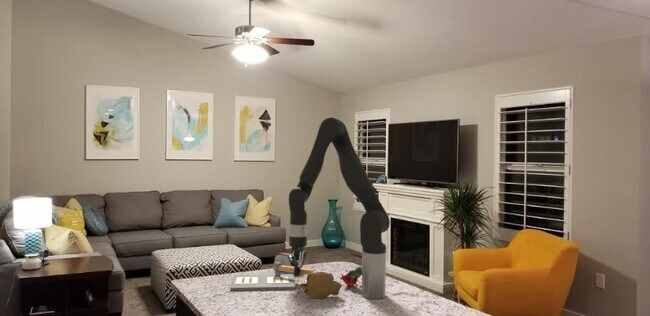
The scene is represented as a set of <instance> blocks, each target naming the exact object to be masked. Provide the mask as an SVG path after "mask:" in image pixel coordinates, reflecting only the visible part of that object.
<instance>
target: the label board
mask: <svg viewBox="0 0 650 316" xmlns="http://www.w3.org/2000/svg"><path fill="white" fill-rule="evenodd" d="M296 289H297V288H296V281H295V276H294V273H285V274H284V273H281V271H276V270H274V274H271V273H270V274H269V273H268V274H264V273H263V274H234V275H233V278H232V281H231V285H230V291H231V292H232V290H246V291H291V290H292V291H293V290H296Z"/></svg>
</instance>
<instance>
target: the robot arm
mask: <svg viewBox="0 0 650 316" xmlns="http://www.w3.org/2000/svg"><path fill="white" fill-rule="evenodd" d="M331 144H332V145H333V147H334V149H335V150H336V153H337V157H338V162H339V170H340V173H341V175H342V178H343V179H344V180H343V181H344V182H345V184H346V186H347V188H348V189H349V191H351V193H352V194H353V195H354V196H355V197H356V198H357V200H359V202H360V203H361V204H362V206H363V208H364V211H365V212H364V213H363V214H362V216H361V219H360V221H359V223H360V224H359V234H360V235H359V238H360V240H359V241H360V245H361V249H362V253H361V255H362V256H361V257H362V258H361V267H362V275H361V286H362V287H361V296H362V297H364V298H365V299H368V300H370V299H372V300H373V299H374V300H375V299H376V300H378V299H384V298H385V297H386V276H387V275H386V272H387V271H386V269H387V267H386V266H387V246H386V244H385V243H383V239H382V233H385V232H387V231H388V230H389V228H390V223H391V222H390V221H391V220H390V217H389V214H388V212H387V211H386V210H385V208H384V207H383V205H382V203H381V201H380V200H379V197H378V196H377V193H376V191H375V189H374V187H373V185H372V183H371V181H370V179H369V177H368V174H367V172H366V169H365V167H364V166H363V163H362V162H361V159H360V157H359V155H358V154H357V152H356V149H355V147H354V146H353V143H352V141H351V137H350V134H349V132H348V129H347V127H346V124H345V123H344V122H343V121H342V120H341V119H339V118H335V117H333V116H330V117H329V116H328V117H326V118H324V119H323V120H322V121H321V123H320V126H319V127H318V131H317V134H316V137H315V139H314V143H313V146H312V149H311V151H310V154H309V156H308V159H307V160H306V162H305V165H304V167H303V168H302V170H301V173H300V175H299V182H298V183H297V186H296V187H294V188H292V189H291V190H290V191H289V194H288V207H289V211H290V214H289V215H290V217H289V219H290V220H289V233H288V245H289V247H291V250H290V253H291V256H288V259H289V261H290V264H291V266H293V267H294V273H293V275H294V277H300V276H301V274H300V267H301V266H302V264H303V265H304V264H305V260H306V257H307V254H308V252H307V251H305V247H307V245H308V243H307V242H308V225H307V224H308V219H307V218H308V214H307V211H306V207H305V205H306V204H305V203H306V202H308V200H309V199H310V196H311V194H312V191H313V188H314V186H315V184H316V183H317V182H316V181H317V179H318V177H319V175H320V174H321V172H322V169H323V166H324V162H325V161H324V159H325V156H326V152H327V150H328V149H329V146H330V145H331Z"/></svg>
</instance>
